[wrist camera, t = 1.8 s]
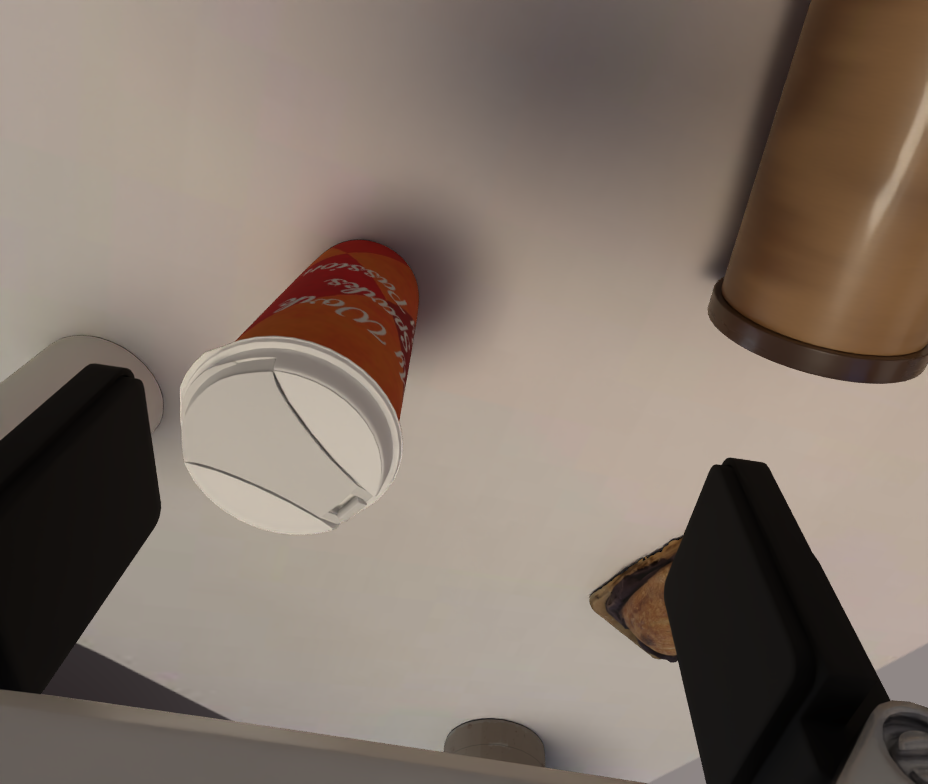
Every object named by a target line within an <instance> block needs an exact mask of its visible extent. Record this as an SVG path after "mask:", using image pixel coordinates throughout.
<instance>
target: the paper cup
mask: <svg viewBox="0 0 928 784" xmlns="http://www.w3.org/2000/svg"><path fill="white" fill-rule="evenodd" d="M418 305H419V292H418V286H417V282H416V279H415V276H414V274H413V272H412V270H411V269H410V267H409V266H408V264H407V263H406V262H405V261H404V259H403V258H402V257H401V256H399V255H398V254H397V253H396V252H394V251H393V250H391V249H390V248H388V247H386V246H384V245H382V244H379V243H376V242H373V241H367V240H351V241H346V242H342V243H340V244H337V245H335V246H333V247H331V248H330V249H328V250H327V251H326V252H324V253H323V254H322V255H321V256H320V257H318V258H317V259H316V260H315V261H314V262H313V263H312V264H311V265H310V266H309V267H308V268H307V269H306V270H305V271H304V272H303V273H302V274H301V275H300V276H299V277H298V278H297V279H296V280H295V281H294V282H293V283H292V284H291V285H290V286H289V287H288V288H287V289H286V290H285V291H284V292H283V293H282V294H281V295H280V296H279V297H278V298H277V299H276V300H275V301H274V302H273V303H272V304H271V305H270V306H269V307H268V308H267V309H266V310H265V311H264V312H263V313H262V314H261V315H260V316H259V317H258V318H257V319H256V320H255V321H254V322H253V324H252V325H251V326H250V327H249V328H248V329H247V330H246V331H245V332H244V333H243V334H242V335H241V336H240V337H239V338H238V339H237V340H236V341H235V342H233V343H230V344H227V345H225V346H222V347H219V348H216V349H213V350H210V351H206V352H205V353H204V354H203V355H202V356H201V357H200V358H199V359H198V360H196V361H195V362H194V364H193V365H192V366H191V368H190V369H189V371H188V372H187V373H186V375H185V377H184V379H183V382H182V384H181V386H180V420H181V427H182V429H181V437H182V450H183V457H184V463H185V465H186V468H187V470H188V472H189V473H190V475H191V477H192V479H193V480H194V482H195V483H196V484H197V486H198V487H199V488H200V489H201V491H202V492H203V493H204V494H205V495H206V496H207V497H208V498H209V499H210V500H211V501H212V502H213V503H215V504H216V505H217V506H218V507H220V508H221V509H222V510H224V511H225V512H227V513H228V514H230V515H232V516H233V517H235V518H237V519H239V520H241V521H243V522H245V523H247V524H249V525H252V526H254V527H257V528H260V529H263V530H267V531H271V532H276V533H281V534H291V535H310V534H317V533H323V532H327V531H330V530H334V529H336V528H337V527H338V526H339V524H340V523H341V522H342V521H348V520H349V519H350V518H351V517H353V516H354V515H355V514H357V513H358V512H360V511H362V510H364V509H365V508H367V507H368V506H370V505H371V504H373V503H374V502H376V501H377V500H378V499H379V498H380V497H381V496H382V495H383V494H384V493H385V492H386V491H387V490H388V488H389V487H390V485H391V484H392V483H393V481H394V479H395V477H396V474H397V472H398V470H399V467H400V463H401V458H402V452H403V438H402V432H401V426H400V423H399V420H400V414H401V408H402V403H403V397H404V391H405V386H406V380H407V375H408V369H409V363H410V357H411V351H412V345H413V340H414V334H415V327H416V321H417V314H418Z"/></svg>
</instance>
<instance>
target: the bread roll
mask: <svg viewBox="0 0 928 784" xmlns="http://www.w3.org/2000/svg"><path fill="white" fill-rule="evenodd" d="M681 540H682V538H681V539H680V540H673V541H671V542H669V545H668V546H665V547H664V548H663V550H662V552H658V553H656V554H655V555H654V556H653V555H652V556H650V558H647V556H646V557H644V558H645V559H646V560H645V561H642V560H643V559H641V560H640V561H638V564H634V565H633V566H631V567H630V568H628V570H627V571H625V572H624V573H622V574H620V575H618V577H615V578H614V579H613V581H611V582H609V583H608V584H607V585H606V586H603V587H602V589H601V590H599V589H598V591H597V592H594V593H593V594H592V595H591V597H590V600H589V602H590V605H591V607H592V609H593V610H594V611H595V612H596V613H597V614H599V615H600V616H601V617H602V618H604V619H605V620H606V621H608V622H609V623H610V624H611V625H612V626H614V627H615V628H616V629H617V630H619V631H620V632H621V633H622V634H624V635H625V636H626V637H628V638H629V639H630V640H632V641H633V642H634V643H635V644H636V645H638V646H639V647H640V648H642V649H643V650H644V651H645V652H647V653H648V654H649V655H651V656H652V657H653V658H656V659H666V660H668V661H669V662H676V661H677V660H678V658H677V654H676V650H675V645H674V641H673V637H672V632H671V628H670V624H669V619H668V615H667V611H666V606H665V602H664V585H665V580H666V577H667V575H668V572H669V570H670V567H671V565H672V562H673V560H674V558H675V555H676V553H677V550H678V548H679V545H680V543H681Z"/></svg>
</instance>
